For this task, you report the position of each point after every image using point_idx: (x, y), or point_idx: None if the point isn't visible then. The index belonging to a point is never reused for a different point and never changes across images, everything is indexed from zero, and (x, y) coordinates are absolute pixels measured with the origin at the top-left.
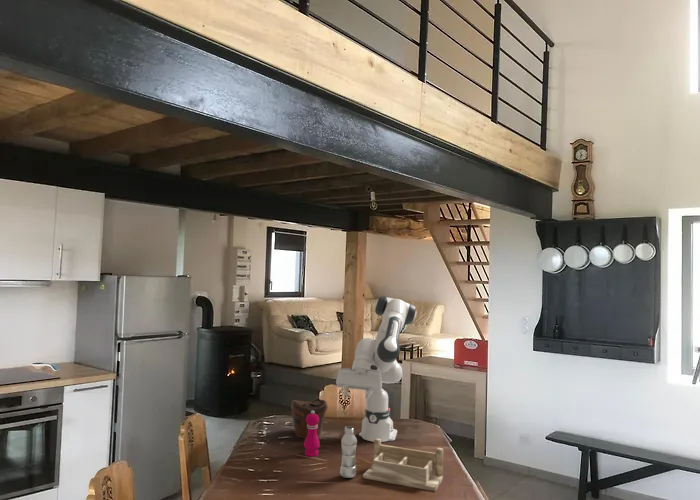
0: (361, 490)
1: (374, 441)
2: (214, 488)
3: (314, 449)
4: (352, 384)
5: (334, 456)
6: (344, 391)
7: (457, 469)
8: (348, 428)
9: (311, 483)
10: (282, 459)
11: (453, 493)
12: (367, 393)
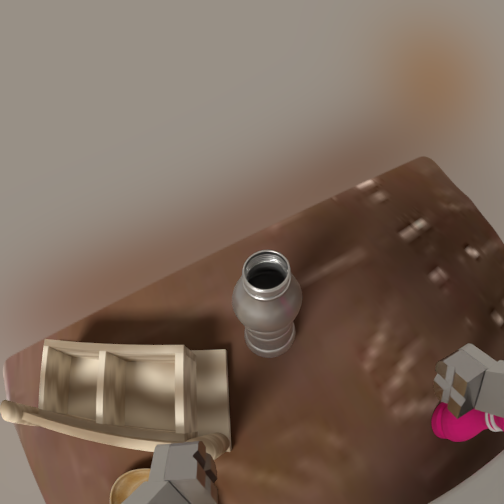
0: (201, 280)
1: (207, 441)
2: (438, 170)
3: (444, 408)
4: (496, 458)
5: (387, 452)
6: (490, 357)
7: (41, 482)
8: (279, 289)
9: (330, 256)
10: (476, 337)
11: (31, 349)
12: (172, 477)
